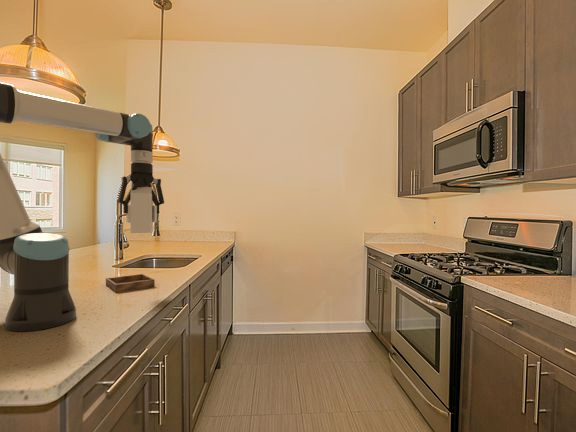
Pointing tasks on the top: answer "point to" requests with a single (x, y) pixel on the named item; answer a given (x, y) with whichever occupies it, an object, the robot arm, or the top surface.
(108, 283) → the tray
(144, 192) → the milk carton
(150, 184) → the robot arm
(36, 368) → the top surface
